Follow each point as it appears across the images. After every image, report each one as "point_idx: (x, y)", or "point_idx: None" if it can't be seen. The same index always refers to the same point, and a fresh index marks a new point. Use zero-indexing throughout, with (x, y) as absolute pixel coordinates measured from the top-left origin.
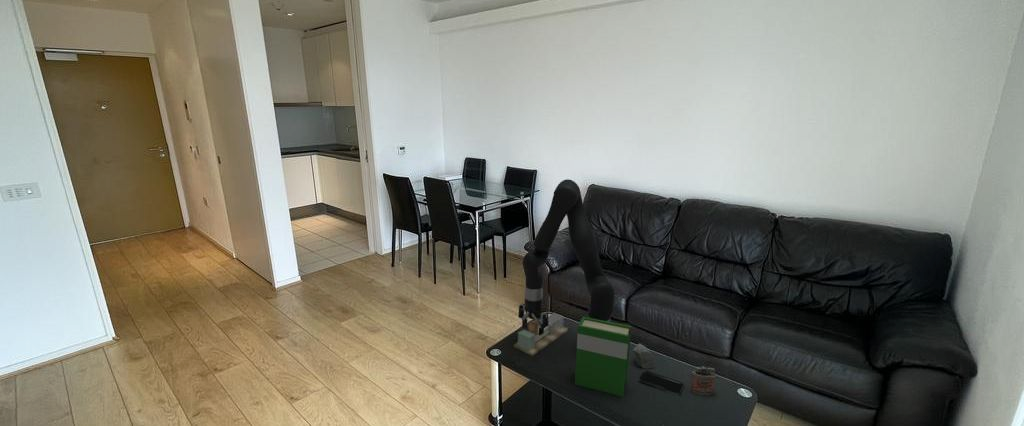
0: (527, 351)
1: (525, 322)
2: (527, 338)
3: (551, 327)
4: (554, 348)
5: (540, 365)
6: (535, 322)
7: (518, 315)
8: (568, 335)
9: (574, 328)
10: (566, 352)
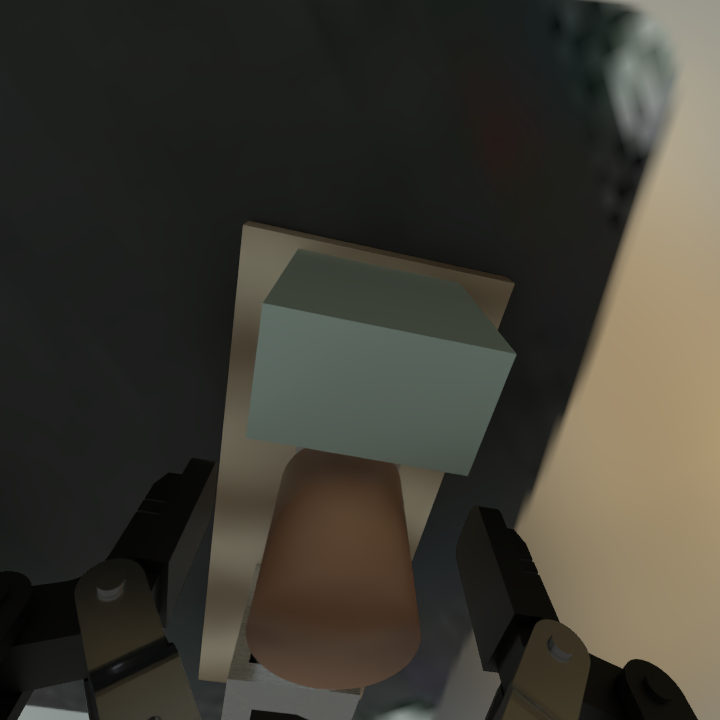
0: (314, 240)
1: (489, 602)
2: (310, 302)
3: (235, 646)
4: (144, 437)
5: (61, 83)
6: (304, 654)
7: (691, 711)
8: None
9: None
10: (21, 431)
